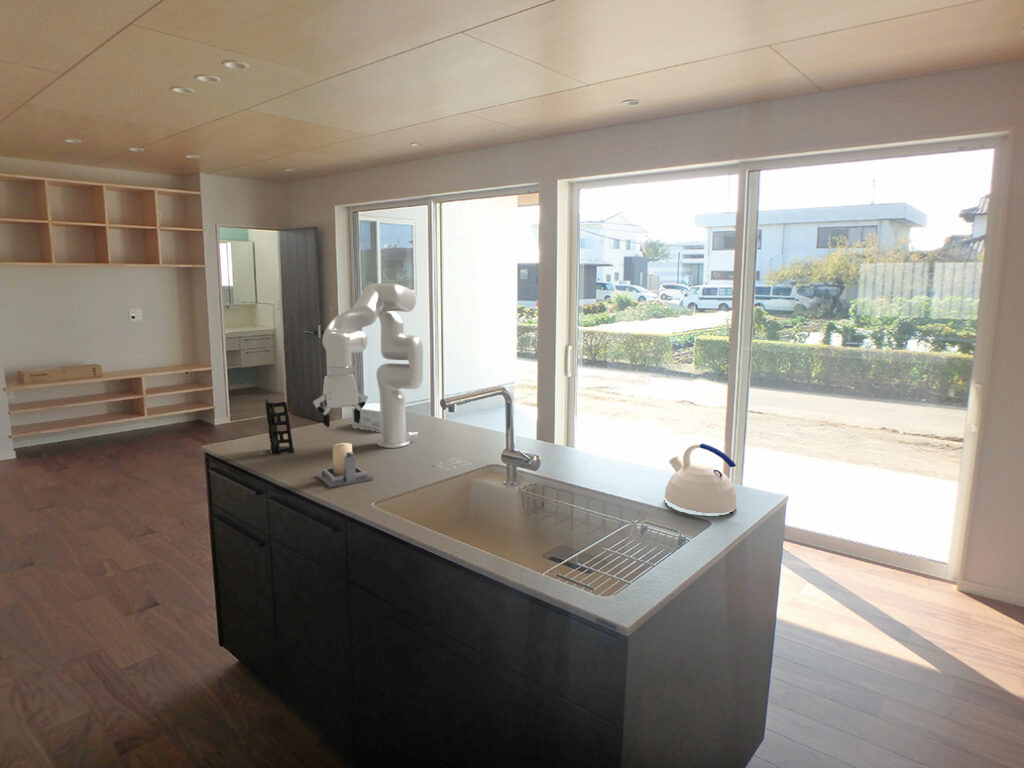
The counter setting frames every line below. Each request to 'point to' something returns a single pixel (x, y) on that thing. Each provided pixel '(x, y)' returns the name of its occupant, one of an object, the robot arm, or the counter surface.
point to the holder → (273, 428)
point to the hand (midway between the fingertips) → (342, 424)
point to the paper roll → (340, 457)
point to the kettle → (701, 484)
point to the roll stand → (351, 473)
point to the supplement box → (369, 417)
